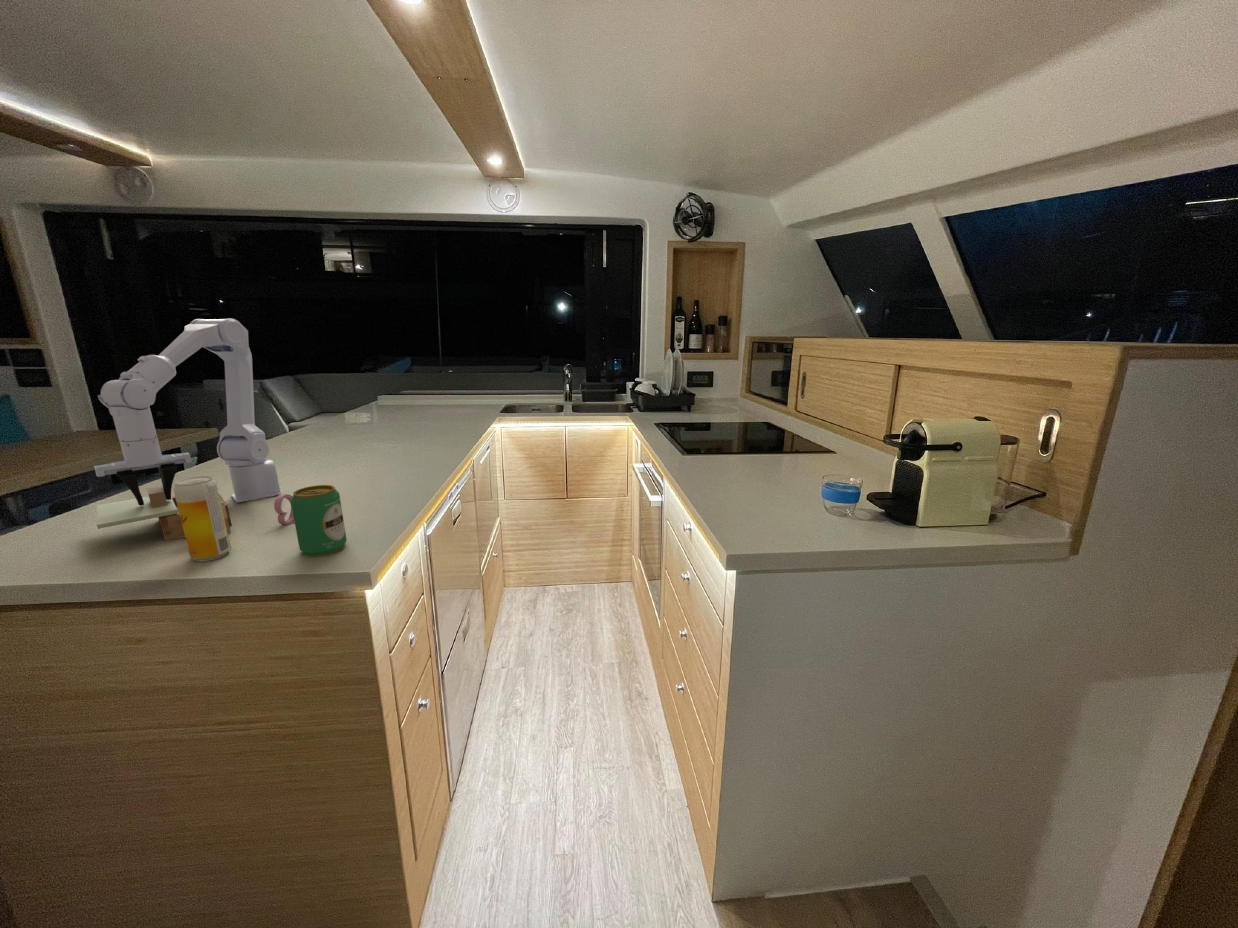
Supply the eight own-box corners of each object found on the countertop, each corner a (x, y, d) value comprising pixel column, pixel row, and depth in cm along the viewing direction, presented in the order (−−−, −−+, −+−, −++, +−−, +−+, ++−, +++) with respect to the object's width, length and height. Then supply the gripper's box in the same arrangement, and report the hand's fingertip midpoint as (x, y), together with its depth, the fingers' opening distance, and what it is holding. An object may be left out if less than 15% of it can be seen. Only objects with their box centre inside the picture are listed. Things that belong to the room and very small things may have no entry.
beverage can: (327, 559, 93) (317, 498, 90) (290, 556, 95) (278, 495, 91) (356, 541, 101) (347, 485, 98) (321, 539, 102) (311, 483, 99)
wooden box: (220, 508, 120) (215, 489, 119) (232, 525, 110) (227, 505, 108) (159, 520, 113) (153, 500, 112) (165, 540, 102) (159, 518, 101)
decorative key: (336, 509, 128) (281, 527, 108) (332, 509, 128) (275, 526, 108) (335, 483, 127) (278, 496, 107) (330, 483, 127) (273, 496, 107)
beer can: (206, 549, 98) (188, 476, 94) (239, 548, 98) (222, 475, 94) (182, 563, 92) (162, 485, 88) (217, 562, 92) (199, 484, 88)
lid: (170, 496, 114) (166, 480, 113) (177, 513, 103) (173, 495, 102) (98, 508, 106) (93, 491, 105) (97, 528, 95) (92, 510, 94)
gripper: (179, 431, 110) (193, 489, 114) (85, 442, 99) (104, 506, 103) (187, 435, 106) (201, 495, 109) (90, 447, 95) (109, 514, 99)
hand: (155, 501), depth 106 cm, fingers open, 4 cm apart
